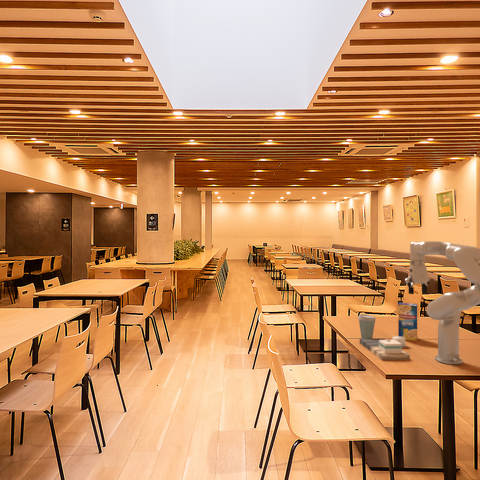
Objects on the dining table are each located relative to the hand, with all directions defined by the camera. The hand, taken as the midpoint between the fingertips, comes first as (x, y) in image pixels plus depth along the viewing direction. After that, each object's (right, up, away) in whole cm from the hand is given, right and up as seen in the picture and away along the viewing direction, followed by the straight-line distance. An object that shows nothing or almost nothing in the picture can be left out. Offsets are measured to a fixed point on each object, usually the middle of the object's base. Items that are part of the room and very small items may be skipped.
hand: (417, 293), depth 211 cm
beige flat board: (-20, -33, 0) cm, 38 cm away
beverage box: (+5, -33, +25) cm, 41 cm away
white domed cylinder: (-7, -33, +9) cm, 35 cm away
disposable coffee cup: (-21, -33, +25) cm, 46 cm away
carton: (-20, -30, -9) cm, 37 cm away
